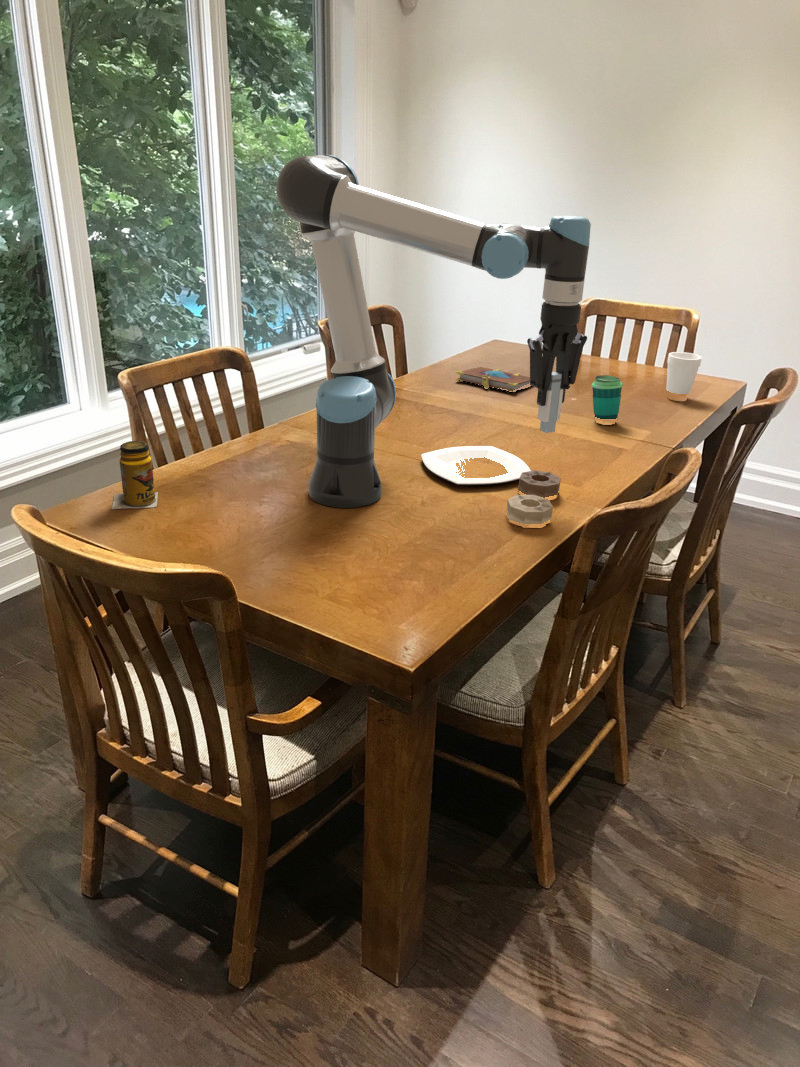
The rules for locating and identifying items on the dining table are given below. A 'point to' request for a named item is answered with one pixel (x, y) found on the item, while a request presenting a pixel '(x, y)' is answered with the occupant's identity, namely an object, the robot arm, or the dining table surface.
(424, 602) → the dining table surface
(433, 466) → the plate
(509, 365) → the dining table surface
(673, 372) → the foam cup
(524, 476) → the walnut bead
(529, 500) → the maple bead
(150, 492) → the condiment
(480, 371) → the book
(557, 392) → the long pale blue brick
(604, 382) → the cup
